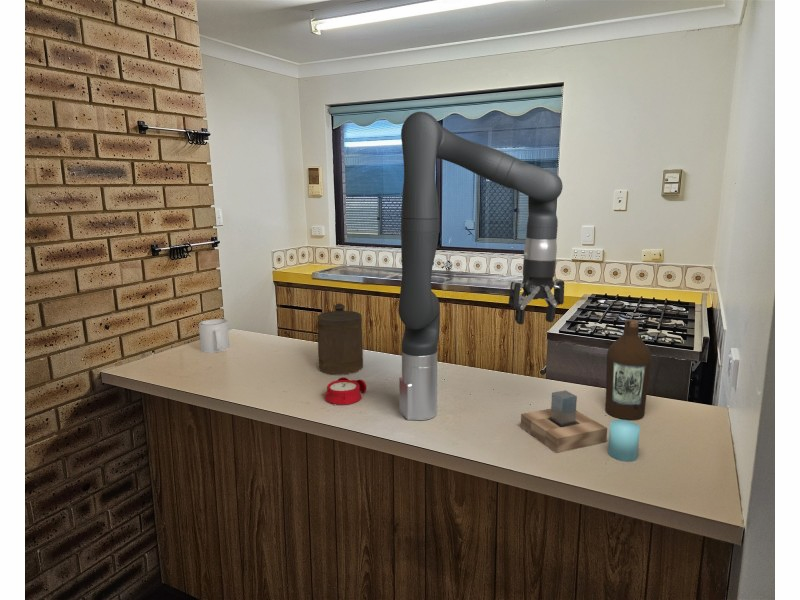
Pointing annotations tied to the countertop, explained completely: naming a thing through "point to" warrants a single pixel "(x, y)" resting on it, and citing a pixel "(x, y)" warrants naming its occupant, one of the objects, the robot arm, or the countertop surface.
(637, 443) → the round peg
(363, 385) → the alarm clock
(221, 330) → the mug
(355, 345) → the wooden container
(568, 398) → the square peg
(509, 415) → the countertop surface
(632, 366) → the brown bottle
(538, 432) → the socket block
